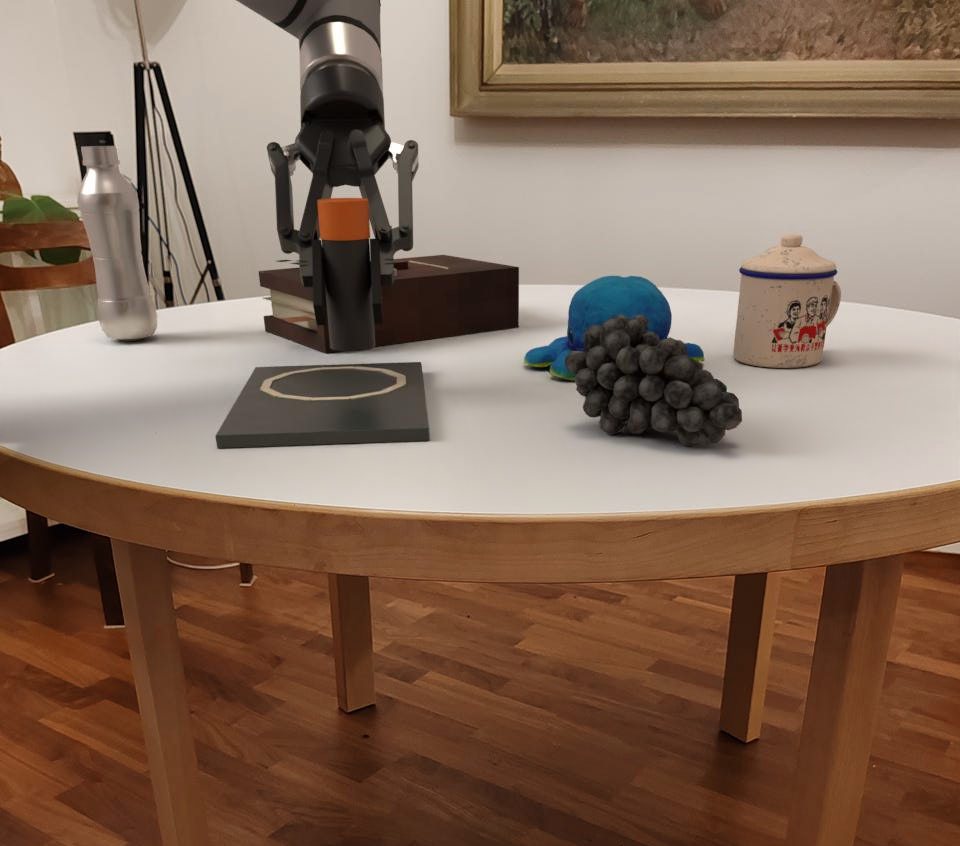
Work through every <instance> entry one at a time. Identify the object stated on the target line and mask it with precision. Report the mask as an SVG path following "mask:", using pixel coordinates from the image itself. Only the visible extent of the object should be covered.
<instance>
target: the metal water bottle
mask: <svg viewBox="0 0 960 846" xmlns="http://www.w3.org/2000/svg"><path fill="white" fill-rule="evenodd" d="M80 148H81V149H80V151H81V156H82V166H85V167H86V173H85V175H84V177H83V179H82V181H81V184H80V186H79V188H78V192H77V206H78V211H80V216H81V220H82V224H83V226H84V229H85V233H86V235H87V240H88V243H89V247H90V252H91V254H92V260H93V264H94V271H95V282H96V291H97V296H98V298H97V305H96V307H97V319H98V323H99V325H100V327H101V331H102V332H103V333H104V334H105V336H106V337H107V338H110V339H116V340H120V341H127V342H133V341H134V342H135V341H138V340H141V339H145V338H147V337H150V336H153V335H154V334H155V333H156V331H157V329H158V312H157V309H156V306H155V303H154V299H153V297H152V295H151V293H150V292H151V291H150V288H149V283H148V279H147V275H146V271H145V266H144V261H143V260H144V259H143V254H142V250H143V249H142V242H141V241H142V240H141V223H140V221H141V220H140V219H141V218H140V202H139V198H138V195H137V193H136V191H135V189H134V188H133V187H132V185H131V184H130V182H129V181H128V180H127V179H126V178H125V176H124V175H123V174H122V173H121V172H120V170H119V165H121V162H120V161H121V160H119V155H118V149H117V146H116V145H88V146H87V145H86V146H85V145H84V146H81V147H80Z"/></svg>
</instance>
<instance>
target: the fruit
mask: <svg viewBox="0 0 960 846" xmlns="http://www.w3.org/2000/svg"><path fill="white" fill-rule="evenodd" d="M648 328H649V323H648V318H647V317H645V316H644V315H634V317H633V318H632V319H629V318H627V317H626V316H624V315H622V314H620V315H617V316H614V317H612V318H611V319H608V320H607V321H605V322H604V323H603V326H602V327H601V326H600V325H591V326H590V327H589V328H588V329H587V330H586V331H585V333H584V336H583V338H584V351H585V352H583V351H571V352H570V353H569V354H568V355H567V356H566V358H565V366H566V369H567V370H568V372H569V373H571V374H577V375H576V377H575V379H574V380H573V381H574V384H575V386H576V387H575V391H576V392H577V393H578V394H579V395H580V396H582V397H583V398H585V399H584V402H583V406H582V409H583V412H584V413H585V415H586V416H587V417H589V418H599V421H598V423H599V427H600V429H601V431H602V432H604V433H605V434H608V435H615V434H619V433H620V432H621V431H622V430H623V429H624V423H625V422H627V423H626V427H627V430H628V431H629V432H631V433H632V434H636V435H637V434H638V435H639V434H642V433H643V432H645V430H647V428H650V429H654V430H655V431H657V432H659V433H669V432H676V435H677V438H678V441H679V442H680V443H681V444H682V445H683V446H685V447H693V446H695V445H697V444H698V442H699V441H700V439H701V440H702V442H703V443H705V444H707V445H712V444H713V445H714V444H718V443H719V442H720V441H722V440H723V439H724V437H725V435H726V431H731V430H734V429H736V428H737V427H738V426H739V425H741V423H742V422H743V411H742V409H741V408H740V400H739V398H738V396H737V395H736V394H735V393H734V392H729V391H728V387H727V384H725V383H724V382H723V381H721V380H719V379H718V378H714V376H713V374H712V372H711V371H709V370H707V369H703V365H702V364H701V361H696V360H694V359H692V358H689V357H688V356H687V347H686V345H685V344H684V343H685V342H684V341H683V340H681V339H675V338H673V337H671V336H668V337H667V338H666V339H662V340H661V341H660V340H659V336H658V335H657V334H656V333H654V332H646V331H647V329H648ZM645 332H646V333H645Z"/></svg>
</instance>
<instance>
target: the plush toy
mask: <svg viewBox="0 0 960 846" xmlns="http://www.w3.org/2000/svg"><path fill="white" fill-rule="evenodd" d="M620 314H622V315H624V316H626V317H627V318H629V319H632V318H633V317H634V315H644V316H645V317H647V318H648V323H649V328H648V329H647V331H646V332H654V333H656V334H657V335H658V336H659V340H660V341H661V340H662V339H666V338H669V335H670V331H671V329H672V328H671V327H672V318H673V317H672V310H671V306H670V303H669V301H668V299H667V298H666V296H665V295H664V294H663V292H662V291H661V290H660V289H659V288H658V286H657V285H656V284H654V283H653V282H652V281H650V280H649V279H647V278H645V277H642V276H637V275H628V276H621V275H606V276H601V277H598V278H596V279H593V280H592V281H590V282H588V283H586V284H585V285H583V286H582V287H581V288H579V289H578V290H576V292H574V294H573V296H572V297H571V300H570V303H569V306H568V314H567V315H568V317H567V318H568V320H567V327H566V328H567V329H566V336H561V337H558V338H555V339H553V341H551V342H550V343H549V344H548V345H542V346H538V347H533V348H531V349H529V350H528V351H527V352H526V353H525V355H524V358H523V364H524V365H526V366H527V367H534V368H547V367H549V373H550V375H551V376H553V377H558V378H559V379H564V380H567V381H574V379H575V377H576V375H577V374H571V373H569V372H568V370H567V369H566V366H565V358H566V356H567V355H568V354H569V353H570V352H571V351H583V352H585V351H584V338H583V336H584V333H585V331H586V330H587V329H588V328H589V327H590V326H591V325H600V326H601V327H602V326H603V323H604V322H605V321H607V320H608V319H611V318H612V317H614V316H617V315H620ZM646 332H645V333H646ZM683 343H684V344H685V345H686V347H687V356H688V357H689V358H692V359H694V360H696V361H699V362H700V363H701V362H702V363H703V362H705V356H704V351H703V349H702V348H701V346H700V345H699V344H696V343H691V342H687V343H686V342H683Z"/></svg>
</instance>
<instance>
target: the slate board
mask: <svg viewBox="0 0 960 846" xmlns="http://www.w3.org/2000/svg"><path fill="white" fill-rule="evenodd" d="M422 365H423V364H422V361H405V362H403V361H402V362H374V363H344V364H342V363H341V364H309V365H281V366H279V365H278V366H277V365H276V366H255V367H254V370H253V371H252V372H251V374H250V376H249V378H248V380H247V381H246V383H245V384H244V386H243V388H242V389H241V392H240V393H239V395H238V397H237V398H236V399H235V402H234V403H233V405H232V407H231V409H230V410H229V412H228V413H227V415H226V417H225V419H224V420H223V422H222V423H221V425H220V428H219V429H218V431H217V432H216V434H215V443H216V449H230V448H231V449H233V448H234V449H235V448H259V447H261V448H263V447H287V446H288V447H290V446H292V447H293V446H315V445H319V446H321V445H343V444H344V445H345V444H370V443H372V444H373V443H374V444H375V443H398V442H399V443H400V442H425V441H427V442H428V441H430V427H429V426H430V425H429V417H428V408H427V399H426V391H425V383H424V374H423V373H424V372H423V366H422Z"/></svg>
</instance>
